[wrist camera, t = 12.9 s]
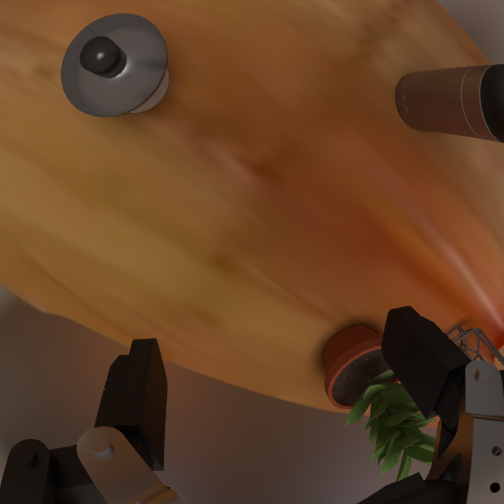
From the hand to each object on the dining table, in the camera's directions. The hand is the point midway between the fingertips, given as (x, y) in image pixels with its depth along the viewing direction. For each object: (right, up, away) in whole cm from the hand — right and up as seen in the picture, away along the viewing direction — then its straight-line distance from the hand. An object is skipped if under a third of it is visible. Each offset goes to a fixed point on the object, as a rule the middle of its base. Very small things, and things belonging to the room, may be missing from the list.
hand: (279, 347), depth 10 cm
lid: (-13, +20, +13) cm, 27 cm away
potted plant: (+17, -15, +45) cm, 50 cm away
